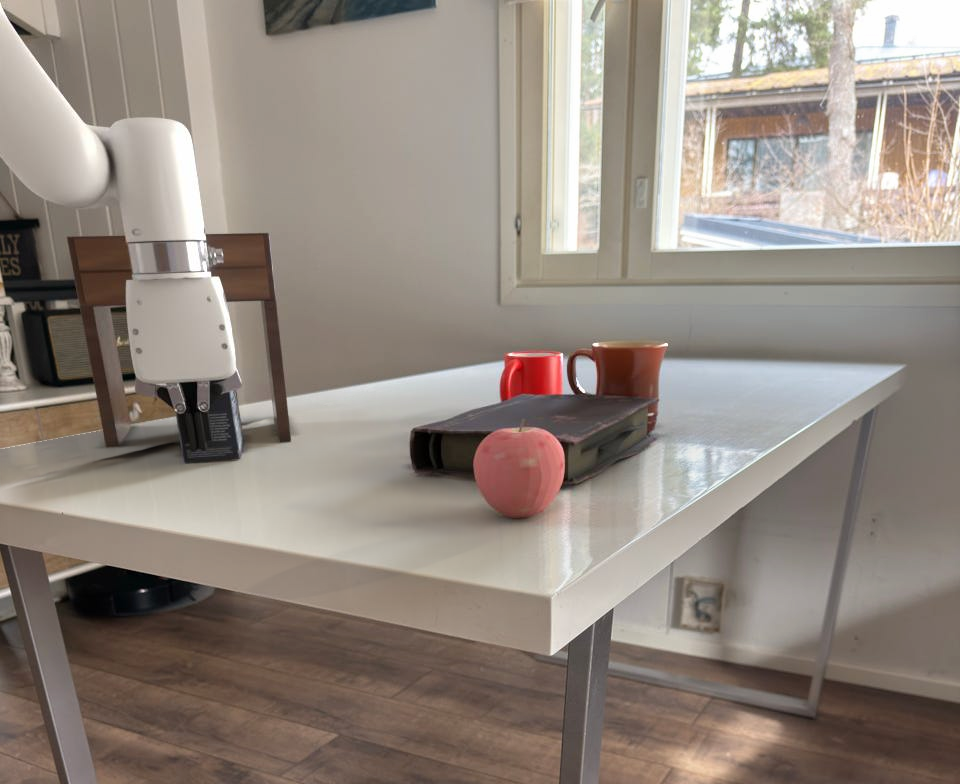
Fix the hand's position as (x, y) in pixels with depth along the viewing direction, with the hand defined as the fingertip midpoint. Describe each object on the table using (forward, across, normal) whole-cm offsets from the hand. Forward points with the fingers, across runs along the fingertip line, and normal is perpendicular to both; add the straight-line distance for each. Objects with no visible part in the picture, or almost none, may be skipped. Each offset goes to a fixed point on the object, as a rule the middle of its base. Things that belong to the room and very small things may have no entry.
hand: (199, 448), depth 95 cm
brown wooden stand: (+2, +1, -18) cm, 18 cm away
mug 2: (+3, -48, -2) cm, 48 cm away
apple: (+2, -27, +30) cm, 41 cm away
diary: (+2, -36, +9) cm, 37 cm away
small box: (+2, -1, -7) cm, 7 cm away
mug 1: (+2, -42, -18) cm, 46 cm away
